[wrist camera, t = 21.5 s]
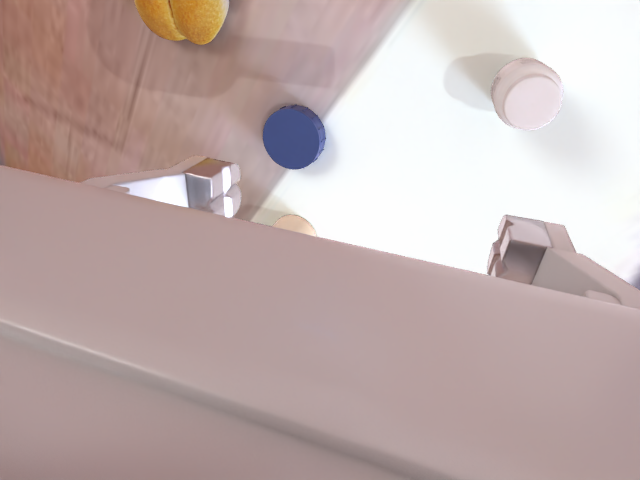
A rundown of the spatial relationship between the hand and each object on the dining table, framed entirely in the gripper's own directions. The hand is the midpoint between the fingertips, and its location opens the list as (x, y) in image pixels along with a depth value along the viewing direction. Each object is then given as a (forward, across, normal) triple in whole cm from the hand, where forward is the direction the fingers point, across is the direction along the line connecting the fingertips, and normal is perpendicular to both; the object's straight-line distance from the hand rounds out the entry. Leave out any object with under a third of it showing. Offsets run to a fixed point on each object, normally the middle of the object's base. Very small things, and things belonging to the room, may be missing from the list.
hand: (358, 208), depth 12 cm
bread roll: (+27, +23, -5) cm, 36 cm away
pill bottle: (+27, -7, 0) cm, 28 cm away
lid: (+25, +12, +7) cm, 29 cm away
